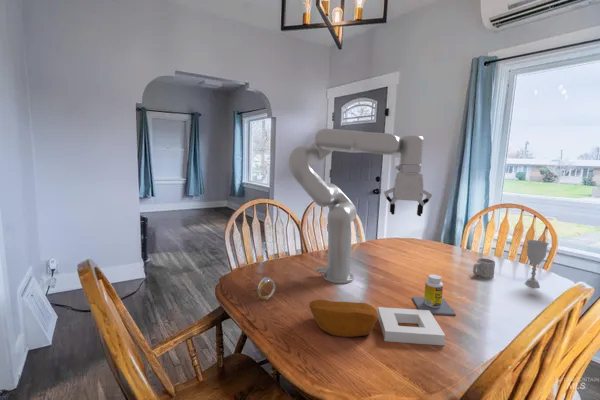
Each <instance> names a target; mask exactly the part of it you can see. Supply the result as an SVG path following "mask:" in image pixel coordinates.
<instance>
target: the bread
mask: <svg viewBox="0 0 600 400" xmlns="http://www.w3.org/2000/svg"><path fill="white" fill-rule="evenodd" d="M309 309H310V311H311V314H312V316H313V318H314V321H315V323H316V324H317V326H318V327H319V328H320V329H321V330H323V331H324V332H326V333H327V334H330V335H332V336H337V337H345V338H346V337H348V338H350V337H355V338H356V337H360V336H364V337H365V336H367V335H368V336H369V334H370V333H372V332H373V330H374V328H375V325H376V322H377V320H378V310H377V309H376V308H375V307H374V306H373V305H371V304H369V303H365V302H351V301H334V300H333V301H331V300H327V299H314V300H312V301H309Z"/></svg>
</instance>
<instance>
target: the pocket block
mask: <svg viewBox="0 0 600 400" xmlns="http://www.w3.org/2000/svg"><path fill="white" fill-rule="evenodd" d="M377 313H378V318H377V320H378V322H379V325H380V329H381V332H382V336H383V340H384V342H389V343H390V342H391V343H393V342H394V343H403V344H404V343H405V344H418V345H430V346H431V345H432V346H445V343H446V334H445V332H444V331H443V329H442V328H441V326H440V324H439V323H438V322H437V320H436V318H435V317H434V314H431V312H430V310H419V309H416V308H415V309H414V308H413V309H412V308H411V309H410V308H399V307H395V308H394V307H383V306H382V307H381V306H378V307H377ZM399 323H402V324H416V325H418V326H403V325H399Z"/></svg>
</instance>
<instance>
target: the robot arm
mask: <svg viewBox="0 0 600 400" xmlns="http://www.w3.org/2000/svg"><path fill="white" fill-rule="evenodd" d="M423 147H424V137H423V136H421V135H404V136H400V135H399V136H398V135H395V134H393V133H387V132H385V133H384V132H373V131H372V132H371V131H370V132H369V131H360V130H352V129H351V130H350V129H337V128H322V129H319V130H318V131H317V132H316V133H315V136H314V142H313V143H311V144H310V145H309V146H307V145H301V146H297V147H295V148H294V149H292V151H291V152H290V154H289V158H288V167H289V168H288V169H289V171H290V173H291V176H292V177H293V179H294V180H295V181H296V182H297V183H298V184H299V185H300V186H301V187H302V188H303V190H304V191H305V192H306V193H307V195H308V196H309V197H310V198H311V199H312V201H313V202H314V203H315V205H317V206H318V207H321V208H325V207H327V208H329V211H328V213H327V218H326V219H327V220H326V221H327V231H328V232H327V233H328V236H327V237H328V238H327V264H326V266H324V267H323V266H322V267H321V266H317V267H316V272H319V274H323V279H324V280H325V281H327V282H329V283H333V284H338V285H339V284H343V285H344V284H348V283H351V282H353V281H354V278H355V276H354V275H353V273H351V259H352V256H351V255H352V222H353V221H354V220H355V219H356V217H357V208H356V205H354V203H353V201H351V199H349V198H348V196H347V195H346V194H345V193H344V192H343V191H342V190H341V188H340V187H339V186H338V185H336V184H334V183H331V182H328V183H327V182H325V181H324V180H323V179H322V178H321V176H320V175H319V174H318V173H317V172H316V171H315V170H313V168H312V167H313V166H316V165H317V164H319V163H320V162H321V161H322V160H324V159H325V158H327V157H328V156H329V155H330V154H332V153H333V152H334V151H335V152H343V153H351V154H354V153H355V154H356V153H368V154H374V155H375V154H378V155H385V156H386V155H387V156H395V155H400V157H399V164H398V165H395V170H397V171H398V172H397V173H396V176H395V179H394V185H393V187H392V188H390V189H387V190H385V191H384V192H383V194H384V196H385V199H386V200H387V201H388V202H389V204H390V205H389V212H390V213H391V215H395V212H396V204H395V203H396V202H397V201H410V202H413V201H415V202H417V203H418V204H417V210H416V215H417V216H418V217H422V214H423V211H424V206H425V205H426V204H427V203H429V200H430V199H431V198H432V196H433V194H432V193H430V192H428V191H427V190H425V189H424V175H423V173H421V169H422V160H423V151H424V149H423ZM391 193H392V194H393V195H392V196H393V197H392V198H391V197H390V195H389V194H391ZM424 195H426V197H425V198H424V199H423V197H424Z"/></svg>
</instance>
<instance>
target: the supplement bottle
mask: <svg viewBox="0 0 600 400" xmlns="http://www.w3.org/2000/svg"><path fill="white" fill-rule="evenodd" d="M443 291H444V283H443V282H442V276H440V275H438V274H429V275H428V279H427V280H426V281H425V286H424V296H423V298H424V303H425V305H427V306H429V307H432V308H438V307H440V306H441V302H442V299H443Z"/></svg>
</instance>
